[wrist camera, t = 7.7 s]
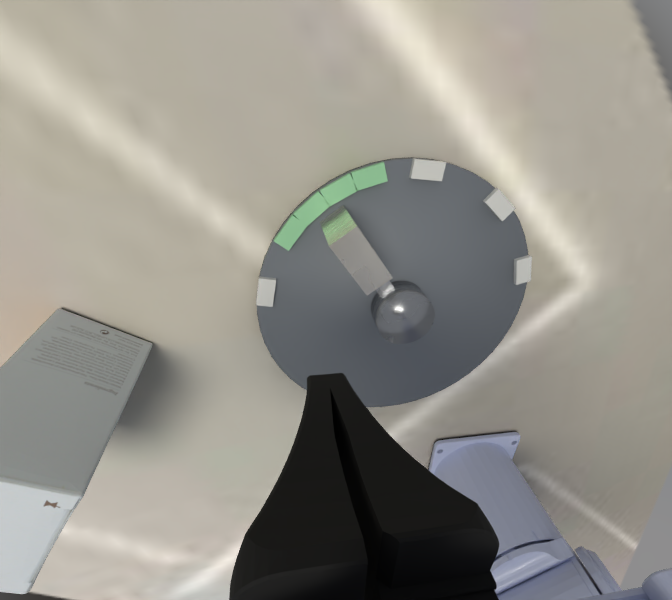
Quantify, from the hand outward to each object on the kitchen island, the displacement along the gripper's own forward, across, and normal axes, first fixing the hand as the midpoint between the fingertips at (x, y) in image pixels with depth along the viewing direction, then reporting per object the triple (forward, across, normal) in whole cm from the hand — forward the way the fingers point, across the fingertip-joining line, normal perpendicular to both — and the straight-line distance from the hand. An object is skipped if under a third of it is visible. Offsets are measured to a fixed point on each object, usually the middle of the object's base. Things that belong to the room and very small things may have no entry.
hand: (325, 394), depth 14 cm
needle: (+10, -4, 0) cm, 11 cm away
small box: (+11, +14, +6) cm, 19 cm away
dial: (+10, -6, +2) cm, 12 cm away
